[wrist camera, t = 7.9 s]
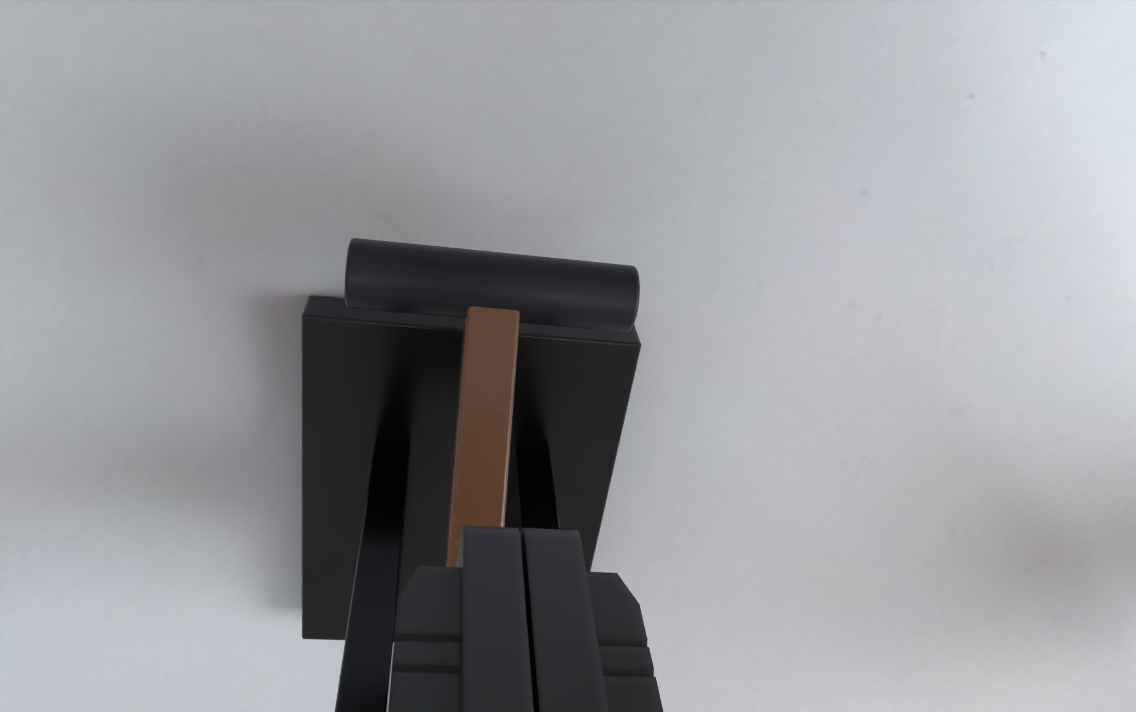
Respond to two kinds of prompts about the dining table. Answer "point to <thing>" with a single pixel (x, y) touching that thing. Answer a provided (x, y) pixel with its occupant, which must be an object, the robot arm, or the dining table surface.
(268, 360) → the dining table surface
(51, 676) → the dining table surface
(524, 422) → the bracket
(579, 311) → the lever
